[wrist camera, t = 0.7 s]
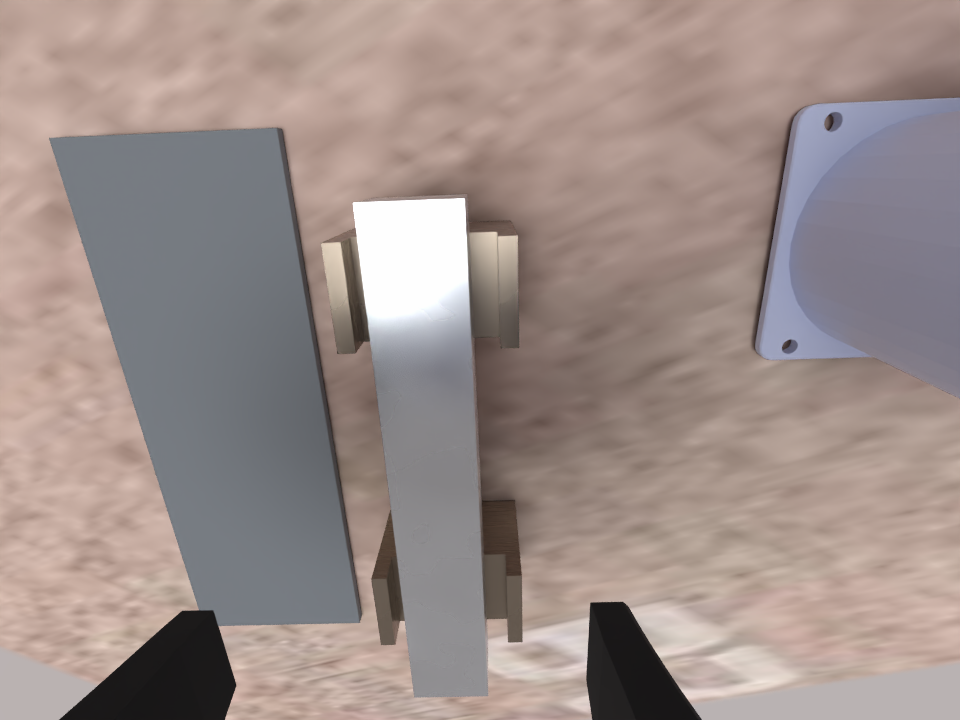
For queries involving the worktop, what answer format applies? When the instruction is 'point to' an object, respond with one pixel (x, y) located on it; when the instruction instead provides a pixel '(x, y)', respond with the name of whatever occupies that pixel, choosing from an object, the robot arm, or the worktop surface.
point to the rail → (429, 429)
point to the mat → (220, 362)
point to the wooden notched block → (488, 273)
